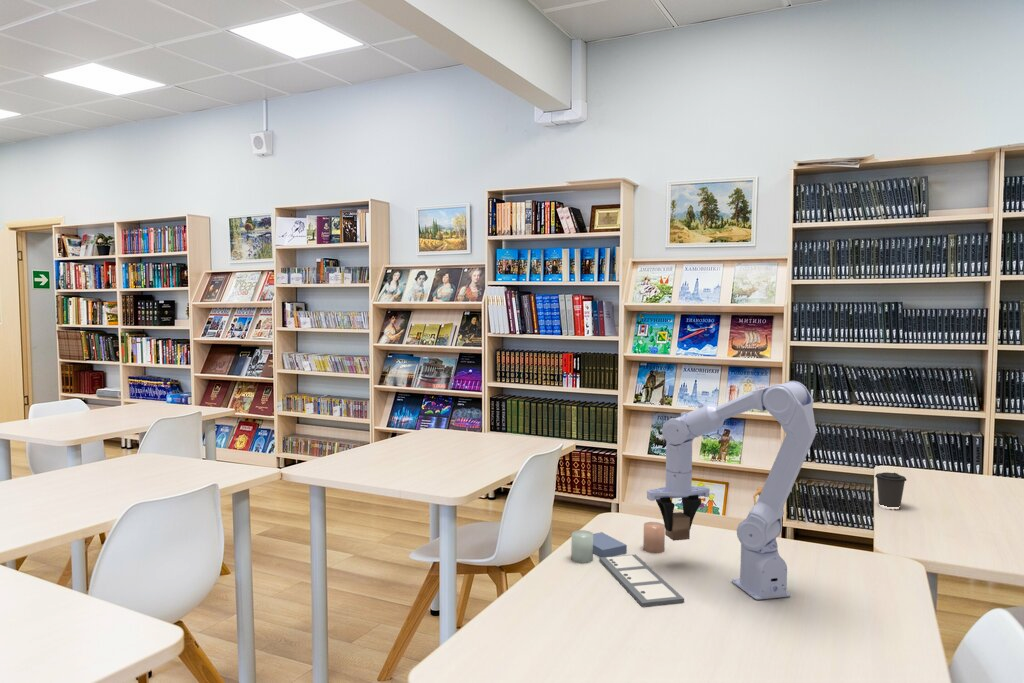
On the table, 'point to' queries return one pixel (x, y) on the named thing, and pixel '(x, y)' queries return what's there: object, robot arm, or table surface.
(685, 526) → the block
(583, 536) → the sage dome-ended cylinder
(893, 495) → the coffee cup
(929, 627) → the table surface
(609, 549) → the slate blue flat block
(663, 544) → the peach dome-topped cylinder
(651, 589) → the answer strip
